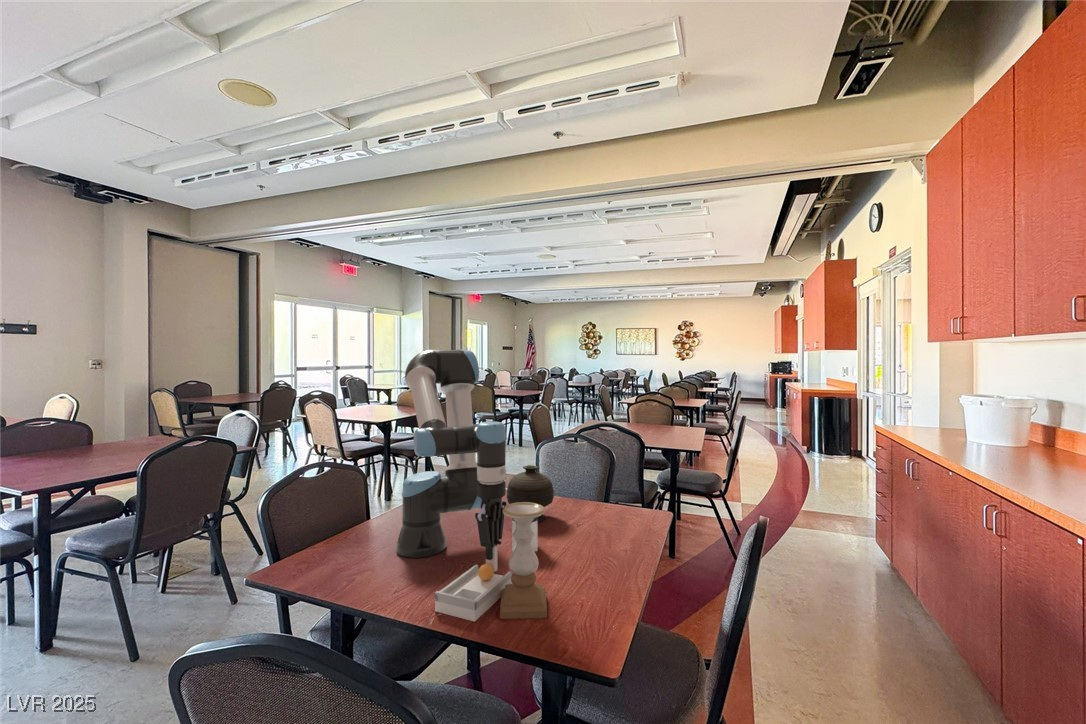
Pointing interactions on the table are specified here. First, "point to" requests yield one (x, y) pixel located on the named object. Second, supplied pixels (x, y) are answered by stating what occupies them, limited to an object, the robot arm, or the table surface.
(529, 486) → the pot
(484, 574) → the ball
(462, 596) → the tray
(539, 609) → the candle holder
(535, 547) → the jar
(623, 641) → the table surface
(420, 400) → the robot arm
